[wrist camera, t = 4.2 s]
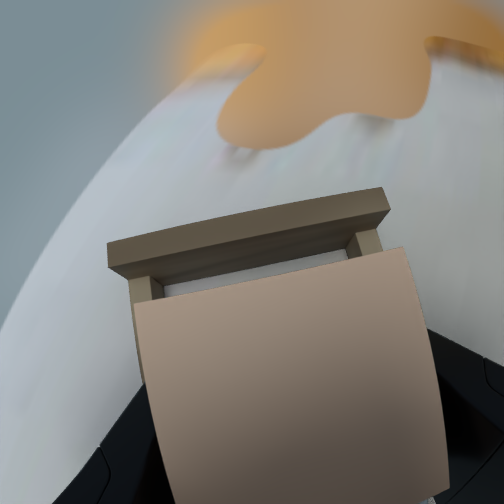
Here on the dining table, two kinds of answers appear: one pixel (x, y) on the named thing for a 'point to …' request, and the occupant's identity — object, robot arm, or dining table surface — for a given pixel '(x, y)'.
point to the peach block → (297, 388)
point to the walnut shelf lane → (247, 242)
